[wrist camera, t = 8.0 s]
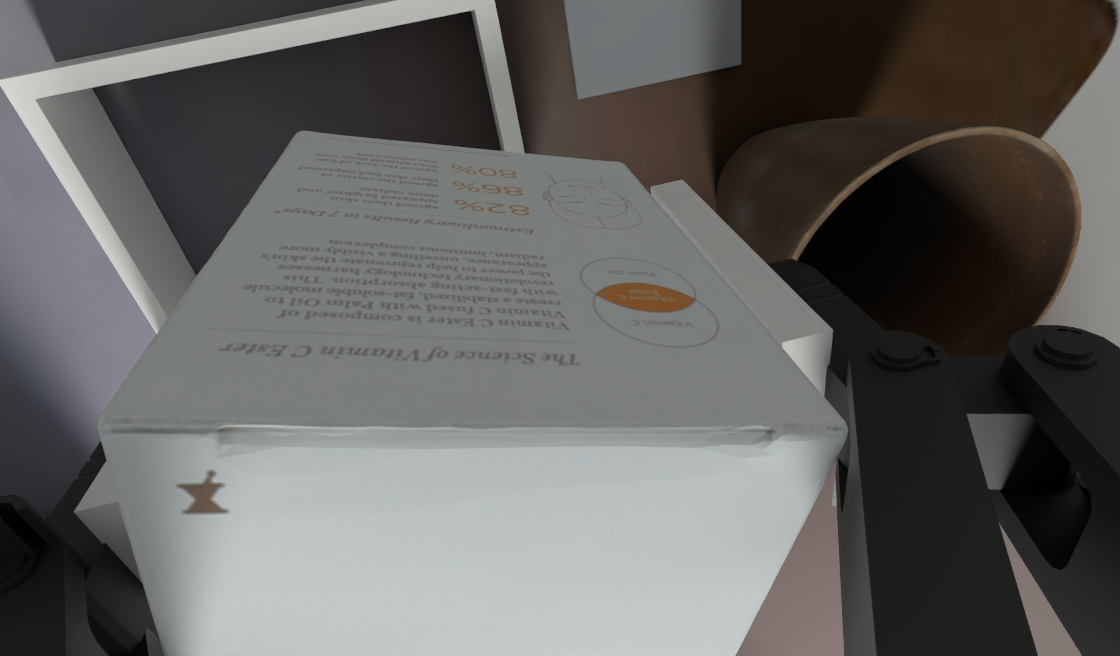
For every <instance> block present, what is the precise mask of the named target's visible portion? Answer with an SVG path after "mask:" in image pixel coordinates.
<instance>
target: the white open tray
mask: <svg viewBox="0 0 1120 656" xmlns="http://www.w3.org/2000/svg"><path fill="white" fill-rule="evenodd" d="M467 11H471V13H472V18H473V23H474V27H475V32H476V36H477V41H478V46H479V50H480V55H481V59H482V64H483V69H484V73H485V78H486V82H487V87H488V92H489V96H490V101H491V105H492V110H493V115H494V119H495V124H496V128H497V133H498V138H499V142H500V147H501V151H507V152H516V153H525V152H524V147H523V142H522V137H521V132H520V127H519V122H518V117H517V111H516V106H515V101H514V96H513V91H512V86H511V81H510V76H509V71H508V66H507V61H506V56H505V51H504V45H503V40H502V35H501V30H500V25H499V20H498V15H497V10H496V5H495V0H365V1H360V2H355V3H350V4H345V5H340V6H335V7H330V8H325V9H320V10H315V11H310V12H305V13H300V14H295V15H290V16H285V17H280V18H275V19H270V20H265V21H260V22H255V23H250V24H245V25H240V26H235V27H230V28H225V29H220V30H215V31H210V32H205V33H200V34H195V35H190V36H185V37H180V38H175V39H170V40H165V41H160V42H155V43H150V44H145V45H140V46H135V47H130V48H125V49H120V50H115V51H110V52H105V53H100V54H95V55H90V56H85V57H80V58H75V59H70V60H65V61H60V62H55V63H52V64H48V65H45V66H42V67H39V68H36V69H32V70H29V71H26V72H23V73H19V74H16V75H13V76H10V77H7V78H3V79H0V86H1V88H2V89H3V91H4V92H5V94H6V95H7V97H8V99H9V100H10V102H11V103H12V105H13V107H14V108H15V110H16V111H17V113H18V115H19V116H20V118H21V119H22V121H23V122H24V124H25V126H26V127H27V129H28V130H29V132H30V134H31V135H32V137H33V138H34V140H35V141H36V143H37V145H38V146H39V148H40V149H41V151H42V153H43V154H44V156H45V157H46V159H47V160H48V162H49V164H50V165H51V167H52V168H53V170H54V172H55V173H56V175H57V176H58V178H59V180H60V181H61V183H62V184H63V186H64V187H65V189H66V191H67V192H68V194H69V195H70V197H71V199H72V200H73V202H74V203H75V205H76V206H77V208H78V210H79V211H80V213H81V214H82V216H83V218H84V219H85V221H86V222H87V224H88V225H89V227H90V229H91V230H92V232H93V233H94V235H95V237H96V238H97V240H98V241H99V243H100V245H101V246H102V248H103V249H104V251H105V252H106V254H107V256H108V257H109V259H110V260H111V262H112V264H113V265H114V267H115V268H116V270H117V271H118V273H119V275H120V276H121V278H122V279H123V281H124V283H125V284H126V286H127V287H128V289H129V290H130V292H131V294H132V295H133V297H134V298H135V300H136V302H137V303H138V305H139V306H140V308H141V310H142V311H143V313H144V314H145V316H146V317H147V319H148V321H149V322H150V324H151V325H152V327H153V329H154V330H155V332H156V333H158V332H159V330H160V329H161V327H162V326H163V324H164V322H165V321H166V319H167V318H168V316H169V315H170V313H171V312H172V311H173V309H174V308H175V306H176V305H177V304H178V302H179V301H180V299H181V298H182V297H183V295H184V294H185V293H186V291H187V290H188V288H189V287H190V285H191V284H192V282H193V281H194V279H195V278H196V275H195V273H194V271H193V269H192V268H191V266H190V264H189V262H188V260H187V259H186V257H185V255H184V253H183V251H182V249H181V248H180V246H179V244H178V242H177V240H176V239H175V237H174V235H173V233H172V231H171V230H170V228H169V226H168V224H167V222H166V221H165V219H164V217H163V215H162V213H161V212H160V210H159V208H158V206H157V204H156V203H155V201H154V199H153V197H152V195H151V194H150V192H149V190H148V188H147V186H146V185H145V183H144V181H143V179H142V177H141V175H140V174H139V172H138V170H137V168H136V166H135V165H134V163H133V161H132V159H131V157H130V156H129V154H128V152H127V150H126V148H125V147H124V145H123V143H122V141H121V139H120V138H119V136H118V134H117V132H116V130H115V129H114V127H113V125H112V123H111V121H110V120H109V118H108V116H107V114H106V112H105V111H104V109H103V107H102V105H101V103H100V101H99V100H98V98H97V96H96V94H95V92H94V91H93V89H92V88H93V87H98V86H102V85H107V84H112V83H117V82H122V81H127V80H132V79H137V78H142V77H147V76H152V75H157V74H162V73H166V72H171V71H176V70H181V69H186V68H191V67H196V66H201V65H206V64H211V63H216V62H221V61H226V60H230V59H235V58H240V57H245V56H250V55H255V54H260V53H265V52H270V51H275V50H280V49H285V48H289V47H294V46H299V45H304V44H309V43H314V42H319V41H324V40H329V39H334V38H339V37H344V36H349V35H353V34H358V33H363V32H368V31H373V30H378V29H383V28H388V27H393V26H398V25H403V24H408V23H413V22H417V21H422V20H427V19H432V18H437V17H442V16H447V15H452V14H457V13H462V12H467Z"/></svg>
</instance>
